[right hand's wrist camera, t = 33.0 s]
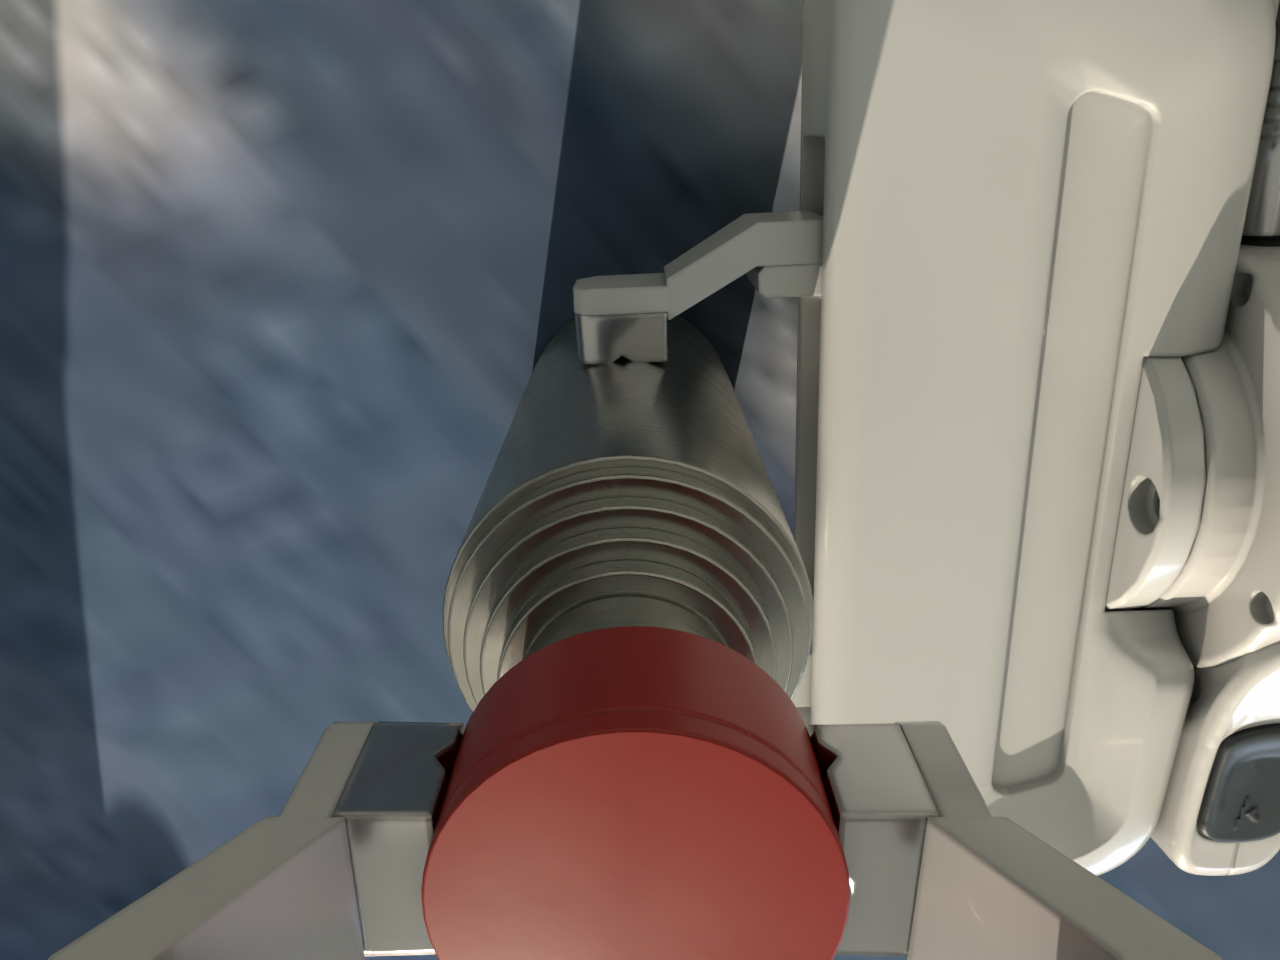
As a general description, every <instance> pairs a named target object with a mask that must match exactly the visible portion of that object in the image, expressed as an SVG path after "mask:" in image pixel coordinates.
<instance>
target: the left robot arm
mask: <svg viewBox="0 0 1280 960" xmlns="http://www.w3.org/2000/svg"><path fill="white" fill-rule="evenodd" d="M745 273H746V276H747V277H748V279H749V280H750V281H751V283H752V284H753V285H754V287H755V288H756V289H757V291H758V292H759V293H760V294H761V295H762V296H763V297H764V298H776V297H798V343H797V404H796V464H795V525H794V540H795V543H796V545H797V548H798V550H799V553H800V555H801V558H802V560H803V563H804V565H805V569H806V572H807V575H808V578H809V581H810V585H811V591H812V597H813V604H814V631H813V638H812V645H811V650H810V654H809V657H808V660H807V664H806V667H805V670H804V672H803V674H802V677H801V681H800V683H799V685H798V687H797V690H796V692H795V694H794V696H793V698H792V702H793V703H794V705H795V707H796V708H797V710H798V711H799V713H800V715H801V716H802V718H803V721H804V723H805V726H806V728H807V729H808V724H879V723H895V722H913V721H939V722H941V723H942V724H944V725H945V726H946V728H947V730H948V732H949V734H950V736H951V738H952V740H953V742H954V743H955V745H956V747H957V749H958V751H959V753H960V755H961V757H962V758H963V760H964V762H965V764H966V766H967V768H968V770H969V772H970V774H971V775H972V777H973V779H974V781H975V783H976V785H977V787H978V789H979V790H980V792H981V794H982V796H983V798H984V800H985V802H986V804H987V806H988V807H989V809H990V811H991V813H992V815H993V817H1007V818H1009V819H1010V820H1012V821H1013V822H1015V823H1016V824H1018V825H1020V826H1021V827H1023V828H1024V829H1026V830H1027V831H1029V832H1030V833H1032V834H1033V835H1035V836H1036V837H1038V838H1039V839H1041V840H1042V841H1044V842H1046V843H1047V844H1049V845H1050V846H1052V847H1053V848H1055V849H1056V850H1058V851H1059V852H1061V853H1062V854H1064V855H1065V856H1067V857H1068V858H1070V859H1071V860H1073V861H1075V862H1076V863H1078V864H1079V865H1081V866H1082V867H1084V868H1085V869H1087V870H1088V871H1090V872H1091V873H1093V874H1094V875H1096V876H1098V875H1101V874H1103V873H1105V872H1108V871H1110V870H1112V869H1114V868H1116V867H1117V866H1119V865H1121V864H1123V863H1124V862H1126V861H1127V860H1128V859H1130V858H1131V857H1132V856H1134V855H1135V854H1136V853H1137V852H1138V851H1139V850H1140V849H1141V848H1142V847H1143V846H1144V844H1145V843H1146V842H1147V840H1148V839H1149V837H1151V838H1152V839H1153V840H1154V841H1155V842H1156V843H1157V844H1158V846H1159V847H1160V848H1161V849H1162V850H1163V851H1164V852H1165V853H1166V855H1167V856H1168V857H1169V858H1170V859H1171V860H1172V861H1173V862H1174V863H1175V864H1176V865H1177V866H1178V867H1179V868H1180V869H1181V870H1183V871H1185V872H1188V873H1192V874H1197V875H1209V876H1224V875H1236V874H1242V873H1246V872H1250V871H1253V870H1256V869H1258V868H1260V867H1261V866H1263V865H1264V864H1266V863H1267V862H1268V861H1270V860H1271V859H1272V858H1273V857H1274V855H1275V854H1276V853H1277V852H1278V851H1279V850H1280V0H804V3H803V39H802V100H801V161H800V211H786V212H768V213H749V214H743V215H742V216H740V217H739V218H737V219H736V220H734V221H733V222H731V223H730V224H728V225H727V226H725V227H723V228H722V229H720V230H719V231H717V232H716V233H714V234H713V235H711V236H710V237H708V238H707V239H705V240H704V241H702V242H701V243H699V244H698V245H696V246H695V247H693V248H692V249H690V250H688V251H687V252H685V253H684V254H682V255H681V256H679V257H678V258H676V259H675V260H673V261H672V262H670V263H669V264H667V265H666V266H664V273H649V274H628V275H607V276H594V277H588V278H582V279H578V280H576V282H575V284H574V286H573V298H574V312H575V313H574V314H575V325H576V336H577V347H578V358H579V361H580V362H582V363H586V364H606V363H613V362H614V361H615V360H617V359H618V358H619V357H621V356H624V357H625V358H627V359H629V360H630V361H632V362H661V361H668V360H667V315H668V320H670V319H672V318H674V317H675V316H677V315H679V314H680V313H682V312H683V311H685V310H687V309H688V308H690V307H692V306H693V305H695V304H696V303H698V302H700V301H701V300H703V299H705V298H706V297H708V296H709V295H711V294H713V293H714V292H716V291H718V290H719V289H721V288H722V287H724V286H726V285H727V284H729V283H731V282H732V281H734V280H735V279H737V278H739V277H740V276H742V275H744V274H745Z"/></svg>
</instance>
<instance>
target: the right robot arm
mask: <svg viewBox="0 0 1280 960" xmlns="http://www.w3.org/2000/svg"><path fill="white" fill-rule="evenodd" d="M807 730H808V733H809V735H810V738H811V742H812V745H813V748H814V752H815V755H816V759H817V762H818V765H819V769H820V772H821V775H822V779H823V782H824V786H825V789H826V792H827V796H828V799H829V803H830V806H831V809H832V813H833V816H834V820H835V823H836V829H837V831H838V833H839V837H840V840H841V843H842V847H843V850H844V854H845V858H846V862H847V867H848V871H849V880H850V904H849V914H848V919H847V923H846V927H845V930H844V934H843V938H842V941H841V943H840V945H839V947H838V949H837V952H836V954H838V955H873V956H908V959H907V960H1223V959H1222V958H1221V957H1220V956H1218V955H1217V954H1215V953H1214V952H1212V951H1211V950H1209V949H1208V948H1206V947H1204V946H1203V945H1201V944H1200V943H1198V942H1197V941H1195V940H1194V939H1192V938H1191V937H1189V936H1188V935H1186V934H1185V933H1183V932H1182V931H1180V930H1178V929H1177V928H1175V927H1174V926H1172V925H1171V924H1169V923H1168V922H1166V921H1165V920H1163V919H1162V918H1160V917H1159V916H1157V915H1156V914H1154V913H1153V912H1151V911H1149V910H1148V909H1146V908H1145V907H1143V906H1142V905H1140V904H1139V903H1137V902H1136V901H1134V900H1133V899H1131V898H1130V897H1128V896H1127V895H1125V894H1123V893H1122V892H1120V891H1119V890H1117V889H1116V888H1114V887H1113V886H1111V885H1110V884H1108V883H1107V882H1105V881H1104V880H1102V879H1101V878H1099V877H1097V876H1096V875H1094V874H1093V873H1091V872H1090V871H1088V870H1087V869H1085V868H1084V867H1082V866H1081V865H1079V864H1078V863H1076V862H1075V861H1073V860H1071V859H1070V858H1068V857H1067V856H1065V855H1064V854H1062V853H1061V852H1059V851H1058V850H1056V849H1055V848H1053V847H1052V846H1050V845H1049V844H1047V843H1046V842H1044V841H1042V840H1041V839H1039V838H1038V837H1036V836H1035V835H1033V834H1032V833H1030V832H1029V831H1027V830H1026V829H1024V828H1023V827H1021V826H1020V825H1018V824H1016V823H1015V822H1013V821H1012V820H1010V819H1009V818H1007V817H993V815H992V813H991V811H990V809H989V807H988V806H987V804H986V802H985V800H984V798H983V796H982V794H981V792H980V790H979V789H978V787H977V785H976V783H975V781H974V779H973V777H972V775H971V774H970V772H969V770H968V768H967V766H966V764H965V762H964V760H963V758H962V757H961V755H960V753H959V751H958V749H957V747H956V745H955V743H954V742H953V740H952V738H951V736H950V734H949V732H948V730H947V728H946V726H945V725H944V724H942V723H941V722H939V721H913V722H895V723H879V724H808V729H807ZM464 731H465V726H464V724H463V723H429V722H382V721H379V722H378V723H377V722H374V721H335V722H334V723H332V724H330V725H329V726H328V727H327V728H326V729H325V731H324V733H323V735H322V737H321V739H320V740H319V742H318V744H317V746H316V748H315V750H314V752H313V753H312V755H311V757H310V759H309V761H308V763H307V765H306V766H305V768H304V770H303V772H302V774H301V776H300V778H299V779H298V781H297V783H296V785H295V787H294V789H293V791H292V793H291V794H290V796H289V798H288V800H287V802H286V804H285V806H284V807H283V809H282V811H281V813H280V815H279V817H265V818H263V819H262V820H260V821H258V822H257V823H255V824H254V825H252V826H251V827H249V828H248V829H246V830H245V831H243V832H241V833H240V834H238V835H237V836H235V837H234V838H232V839H231V840H229V841H227V842H226V843H224V844H223V845H221V846H220V847H218V848H217V849H215V850H214V851H212V852H210V853H209V854H207V855H206V856H204V857H203V858H201V859H200V860H198V861H197V862H195V863H193V864H192V865H190V866H189V867H187V868H186V869H184V870H183V871H181V872H180V873H178V874H176V875H175V876H173V877H172V878H170V879H169V880H167V881H166V882H164V883H163V884H161V885H159V886H158V887H156V888H155V889H153V890H152V891H150V892H149V893H147V894H145V895H144V896H142V897H141V898H139V899H138V900H136V901H135V902H133V903H132V904H130V905H128V906H127V907H125V908H124V909H122V910H121V911H119V912H118V913H116V914H115V915H113V916H111V917H110V918H108V919H107V920H105V921H104V922H102V923H101V924H99V925H98V926H96V927H94V928H93V929H91V930H90V931H88V932H87V933H85V934H84V935H82V936H81V937H79V938H77V939H76V940H74V941H73V942H71V943H70V944H68V945H67V946H65V947H63V948H62V949H60V950H59V951H57V952H56V953H54V954H53V955H51V956H50V957H49V958H48V960H365V958H364V956H398V955H432V954H436V953H435V951H434V949H433V947H432V944H431V942H430V939H429V936H428V932H427V929H426V925H425V921H424V917H423V908H422V899H421V893H422V876H423V871H424V866H425V862H426V858H427V854H428V850H429V847H430V843H431V840H432V836H433V834H434V831H435V826H436V823H437V820H438V816H439V813H440V809H441V806H442V803H443V799H444V796H445V793H446V789H447V786H448V782H449V779H450V775H451V772H452V769H453V765H454V762H455V759H456V756H457V752H458V749H459V745H460V742H461V739H462V735H463V733H464Z"/></svg>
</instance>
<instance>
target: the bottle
mask: <svg viewBox="0 0 1280 960" xmlns="http://www.w3.org/2000/svg"><path fill="white" fill-rule="evenodd" d="M667 360H668V361H661V362H632V361H630V360H629V359H627V358H625V357H624V356H621V357H619V358H618V359H617V360H615V361H614V362H613V363H606V364H586V363H582V362H580V361H579V358H578V347H577V336H576V325H575V319H574V320H572V321H571V322H570V323H568V324H567V325H565V326H564V327H563V328H562V329H561V330H560V331H559V332H558V333H556V335H555V336H554V337H553V338H552V339H551V340H550V342H549V343H548V344H547V346H546V347H545V349H544V350H543V352H542V353H541V355H540V357H539V359H538V362H537V364H536V366H535V368H534V371H533V373H532V375H531V378H530V380H529V383H528V385H527V387H526V390H525V392H524V395H523V397H522V399H521V402H520V404H519V407H518V409H517V411H516V414H515V416H514V419H513V421H512V423H511V426H510V428H509V431H508V433H507V435H506V438H505V440H504V443H503V445H502V447H501V450H500V452H499V455H498V457H497V459H496V462H495V464H494V467H493V469H492V471H491V474H490V476H489V479H488V481H487V483H486V486H485V488H484V491H483V493H482V495H481V498H480V500H479V503H478V505H477V507H476V510H475V512H474V515H473V517H472V519H471V522H470V524H469V527H468V529H467V531H466V534H465V536H464V539H463V541H462V543H461V546H460V548H459V551H458V553H457V555H456V558H455V560H454V563H453V565H452V568H451V571H450V575H449V578H448V581H447V585H446V588H445V596H444V604H443V634H444V640H445V646H446V651H447V655H448V658H449V661H450V664H451V667H452V670H453V673H454V675H455V678H456V681H457V684H458V687H459V689H460V691H461V693H462V695H463V697H464V699H465V701H466V703H467V705H468V706H469V708H470V709H471V711H472V712H474V710H475V708H476V707H477V705H478V703H479V702H480V700H481V699H482V698H483V696H484V695H485V694H486V693H487V692H488V690H489V689H490V688H491V687H492V686H493V684H494V683H495V682H496V681H498V680H499V679H500V678H501V677H502V676H503V675H504V674H505V673H506V672H507V671H508V670H510V669H511V668H512V667H514V666H515V665H516V664H518V663H519V662H520V661H522V660H523V659H525V658H527V657H528V656H529V655H531V654H533V653H535V652H537V651H538V650H540V649H542V648H544V647H546V646H548V645H550V644H552V643H555V642H557V641H560V640H563V639H565V638H568V637H571V636H573V635H577V634H581V633H583V632H588V631H594V630H598V629H605V628H613V627H622V626H650V627H659V628H663V627H664V628H668V629H674V630H679V631H683V632H687V633H692V634H696V635H699V636H702V637H704V638H707V639H710V640H713V641H715V642H718V643H720V644H722V645H724V646H727V647H728V648H731V649H733V650H734V651H736V652H738V653H740V654H741V655H743V656H744V657H746V658H747V659H749V660H750V661H752V662H753V663H754V664H756V665H757V666H759V667H760V668H762V669H763V670H764V671H765V672H766V673H767V674H768V675H769V676H770V677H771V678H773V679H774V680H775V681H776V682H777V683H778V684H779V685H780V687H781V688H782V689H783V690H784V691H785V693H786V694H787V695H788V696H789V697H790V699H791V700H792V698H793V696H794V694H795V692H796V690H797V687H798V685H799V683H800V681H801V677H802V674H803V672H804V670H805V667H806V664H807V660H808V657H809V654H810V650H811V645H812V638H813V631H814V604H813V597H812V591H811V585H810V581H809V578H808V575H807V572H806V569H805V565H804V563H803V560H802V558H801V555H800V553H799V550H798V548H797V545H796V543H795V540H794V538H793V535H792V533H791V530H790V528H789V525H788V523H787V521H786V518H785V516H784V513H783V511H782V508H781V506H780V503H779V501H778V498H777V496H776V493H775V491H774V488H773V486H772V483H771V481H770V478H769V476H768V473H767V471H766V469H765V466H764V464H763V461H762V459H761V456H760V454H759V451H758V449H757V446H756V444H755V441H754V439H753V436H752V434H751V431H750V429H749V426H748V424H747V422H746V419H745V417H744V414H743V412H742V409H741V407H740V404H739V402H738V399H737V397H736V394H735V392H734V389H733V387H732V384H731V382H730V379H729V377H728V374H727V372H726V370H725V367H724V365H723V363H722V361H721V358H720V356H719V354H718V353H717V351H716V350H715V348H714V347H713V345H712V344H711V342H710V341H709V340H708V339H707V338H706V336H705V335H704V334H703V333H702V332H701V331H700V330H698V329H697V328H696V327H695V326H694V325H693V324H691V323H690V322H688V321H687V320H685V319H684V318H682V317H681V316H679V315H677V316H675V317H674V318H672V319H670V320H668V315H667Z"/></svg>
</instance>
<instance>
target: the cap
mask: <svg viewBox="0 0 1280 960" xmlns="http://www.w3.org/2000/svg"><path fill="white" fill-rule="evenodd" d="M421 899H422V908H423V917H424V921H425V925H426V929H427V932H428V936H429V939H430V942H431V944H432V947H433V949H434V951H435V953H436V955H437V957H438V960H833V958H834V956H835V954H836V952H837V949H838V947H839V945H840V943H841V941H842V938H843V934H844V930H845V927H846V923H847V919H848V914H849V904H850V880H849V871H848V867H847V862H846V858H845V854H844V850H843V847H842V843H841V840H840V837H839V833H838V831H837V829H836V823H835V820H834V816H833V813H832V809H831V806H830V803H829V799H828V796H827V792H826V789H825V786H824V782H823V779H822V775H821V772H820V769H819V765H818V762H817V759H816V755H815V752H814V748H813V745H812V742H811V738H810V735H809V733H808V730H807V728H806V726H805V723H804V721H803V718H802V716H801V715H800V713H799V711H798V710H797V708H796V707H795V705H794V703H793V702H792V700H791V699H790V697H789V696H788V695H787V694H786V693H785V691H784V690H783V689H782V688H781V687H780V685H779V684H778V683H777V682H776V681H775V680H774V679H773V678H771V677H770V676H769V675H768V674H767V673H766V672H765V671H764V670H763V669H762V668H760V667H759V666H757V665H756V664H754V663H753V662H752V661H750V660H749V659H747V658H746V657H744V656H743V655H741V654H740V653H738V652H736V651H734V650H733V649H731V648H728V647H727V646H724V645H722V644H720V643H718V642H715V641H713V640H710V639H707V638H704V637H702V636H699V635H696V634H692V633H687V632H683V631H679V630H674V629H668V628H664V627H663V628H659V627H650V626H622V627H613V628H605V629H598V630H594V631H588V632H583V633H581V634H577V635H573V636H571V637H568V638H565V639H563V640H560V641H557V642H555V643H552V644H550V645H548V646H546V647H544V648H542V649H540V650H538V651H537V652H535V653H533V654H531V655H529V656H528V657H527V658H525V659H523V660H522V661H520V662H519V663H518V664H516V665H515V666H514V667H512V668H511V669H510V670H508V671H507V672H506V673H505V674H504V675H503V676H502V677H501V678H500V679H499V680H498V681H496V682H495V683H494V684H493V686H492V687H491V688H490V689H489V690H488V692H487V693H486V694H485V695H484V696H483V698H482V699H481V700H480V702H479V703H478V705H477V707H476V708H475V710H474V712H473V713H472V715H471V717H470V718H469V721H468V723H467V726H466V728H465V731H464V733H463V735H462V739H461V742H460V745H459V749H458V752H457V756H456V759H455V762H454V765H453V769H452V772H451V775H450V779H449V782H448V786H447V789H446V793H445V796H444V799H443V803H442V806H441V809H440V813H439V816H438V820H437V823H436V826H435V831H434V834H433V836H432V840H431V843H430V847H429V850H428V854H427V858H426V862H425V866H424V871H423V876H422V893H421Z"/></svg>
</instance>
